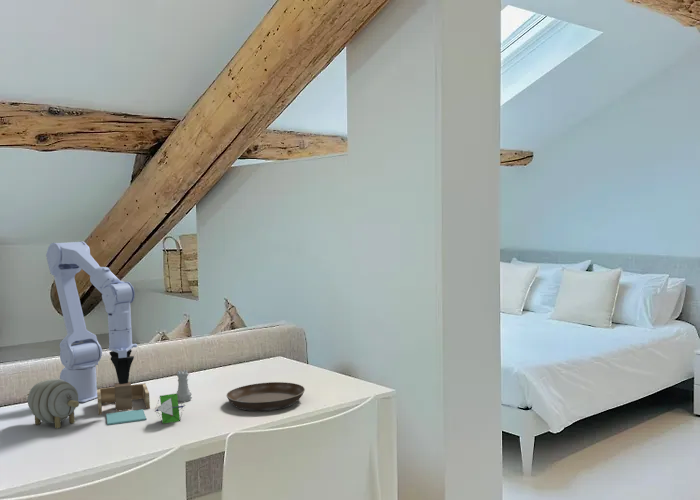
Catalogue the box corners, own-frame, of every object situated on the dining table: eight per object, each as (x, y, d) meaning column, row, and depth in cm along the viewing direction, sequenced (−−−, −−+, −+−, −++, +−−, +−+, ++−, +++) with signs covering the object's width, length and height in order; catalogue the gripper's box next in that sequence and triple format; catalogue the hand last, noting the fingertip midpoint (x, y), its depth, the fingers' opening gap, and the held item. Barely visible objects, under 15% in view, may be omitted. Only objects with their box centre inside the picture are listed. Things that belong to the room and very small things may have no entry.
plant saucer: (210, 409, 175) (210, 397, 175) (255, 390, 193) (254, 379, 193) (279, 417, 166) (278, 404, 166) (318, 396, 185) (318, 384, 184)
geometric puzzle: (152, 409, 168) (154, 388, 164) (180, 405, 171) (182, 384, 167) (156, 432, 163) (158, 411, 159) (185, 428, 166) (188, 407, 162)
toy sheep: (48, 414, 174) (46, 372, 173) (98, 421, 167) (95, 377, 166) (13, 427, 164) (10, 382, 164) (63, 434, 157) (61, 387, 157)
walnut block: (115, 407, 179) (114, 383, 179) (131, 405, 181) (130, 381, 180) (116, 411, 176) (115, 386, 175) (132, 409, 177) (131, 385, 177)
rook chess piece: (187, 402, 182) (186, 373, 181) (172, 402, 183) (171, 372, 182) (194, 398, 186) (193, 369, 186) (179, 397, 187) (178, 369, 187)
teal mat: (106, 415, 172) (106, 413, 172) (143, 410, 175) (143, 409, 175) (107, 425, 163) (107, 423, 163) (146, 419, 167) (146, 418, 167)
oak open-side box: (97, 403, 184) (97, 388, 183) (145, 397, 188) (145, 383, 188) (98, 414, 173) (97, 399, 172) (149, 408, 177) (149, 393, 177)
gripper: (138, 331, 172) (140, 384, 172) (134, 323, 185) (136, 373, 186) (108, 334, 169) (111, 387, 170) (106, 326, 183) (109, 376, 183)
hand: (122, 380), depth 178 cm, fingers open, 7 cm apart
